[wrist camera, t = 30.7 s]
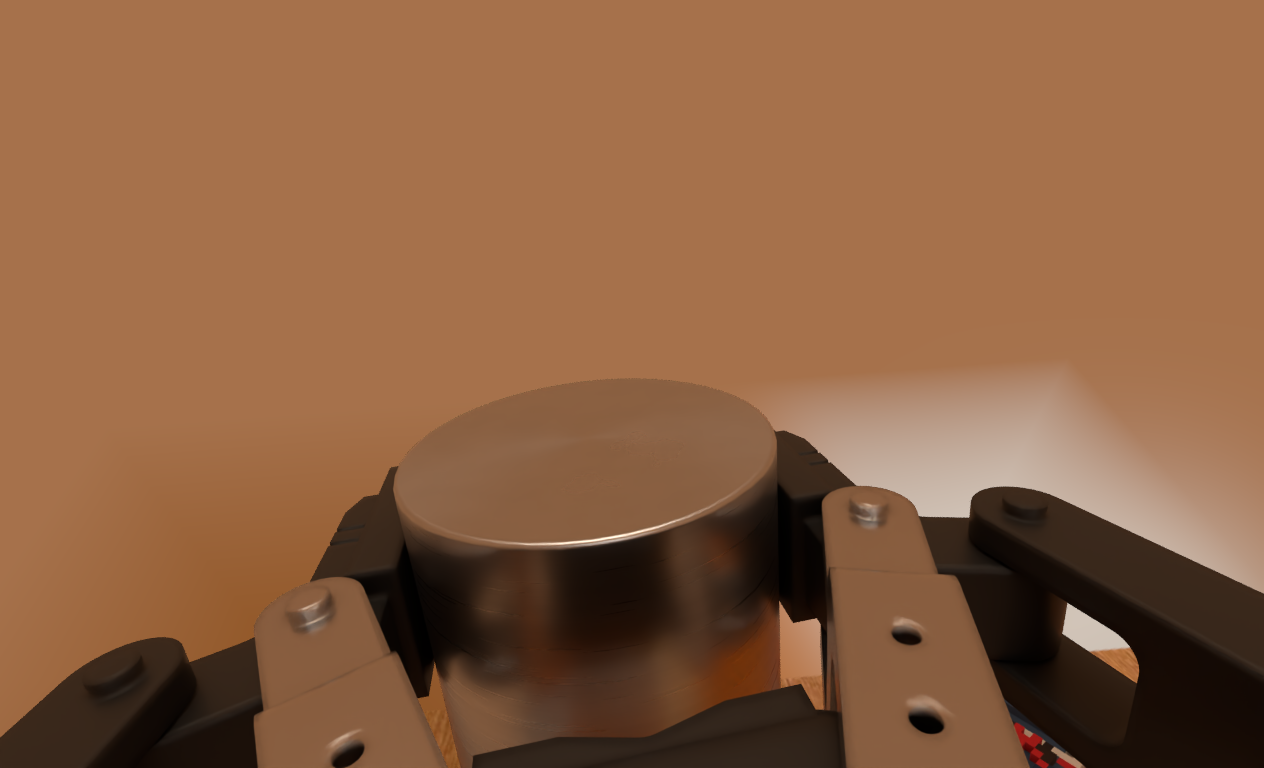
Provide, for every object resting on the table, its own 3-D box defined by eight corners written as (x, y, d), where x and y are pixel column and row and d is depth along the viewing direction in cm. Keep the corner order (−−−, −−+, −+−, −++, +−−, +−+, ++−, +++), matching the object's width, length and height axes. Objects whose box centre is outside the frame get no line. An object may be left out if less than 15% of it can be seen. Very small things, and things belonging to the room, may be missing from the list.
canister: (529, 1200, 10) (358, 592, 6) (512, 857, 15) (412, 407, 11) (839, 1075, 11) (858, 486, 7) (725, 793, 16) (700, 361, 12)
